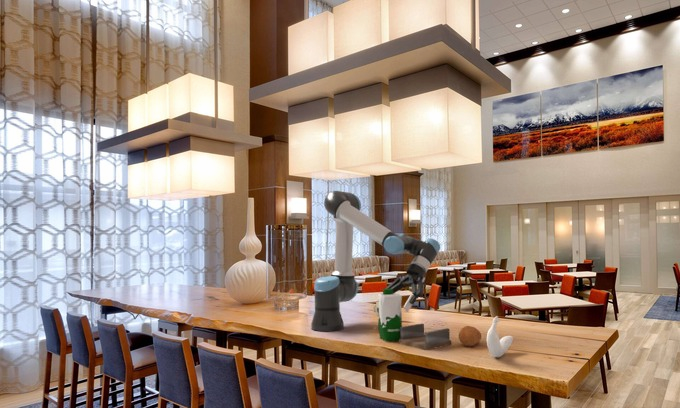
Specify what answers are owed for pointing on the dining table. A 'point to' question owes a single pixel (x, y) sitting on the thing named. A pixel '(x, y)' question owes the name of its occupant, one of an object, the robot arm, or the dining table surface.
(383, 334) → the soya milk
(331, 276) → the robot arm
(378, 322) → the white and green figurine
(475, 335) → the potato
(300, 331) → the dining table surface
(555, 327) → the dining table surface
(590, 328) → the dining table surface
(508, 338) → the white bird figurine
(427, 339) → the grey square holder
